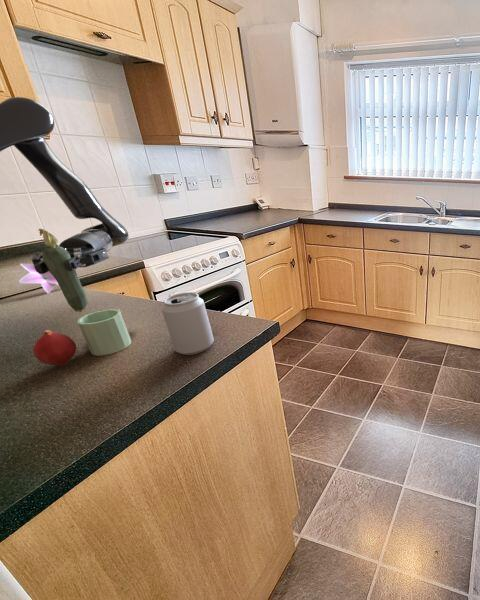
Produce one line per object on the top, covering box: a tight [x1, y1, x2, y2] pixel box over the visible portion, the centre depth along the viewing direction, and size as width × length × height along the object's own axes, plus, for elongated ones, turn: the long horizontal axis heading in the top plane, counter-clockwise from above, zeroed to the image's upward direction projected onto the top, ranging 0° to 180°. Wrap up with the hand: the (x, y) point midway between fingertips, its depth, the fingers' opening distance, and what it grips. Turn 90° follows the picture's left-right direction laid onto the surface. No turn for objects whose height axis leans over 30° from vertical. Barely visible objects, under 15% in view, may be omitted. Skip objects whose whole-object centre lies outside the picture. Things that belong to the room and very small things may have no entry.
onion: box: [32, 329, 77, 367], centre depth 66 cm, size 6×6×8 cm
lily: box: [18, 262, 59, 294], centre depth 104 cm, size 12×12×10 cm
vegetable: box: [37, 228, 89, 313], centre depth 76 cm, size 4×4×20 cm
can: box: [161, 291, 215, 356], centre depth 71 cm, size 8×8×12 cm
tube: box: [76, 308, 132, 357], centre depth 72 cm, size 7×7×8 cm
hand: (54, 267), depth 73 cm, fingers closed on vegetable, 4 cm apart
